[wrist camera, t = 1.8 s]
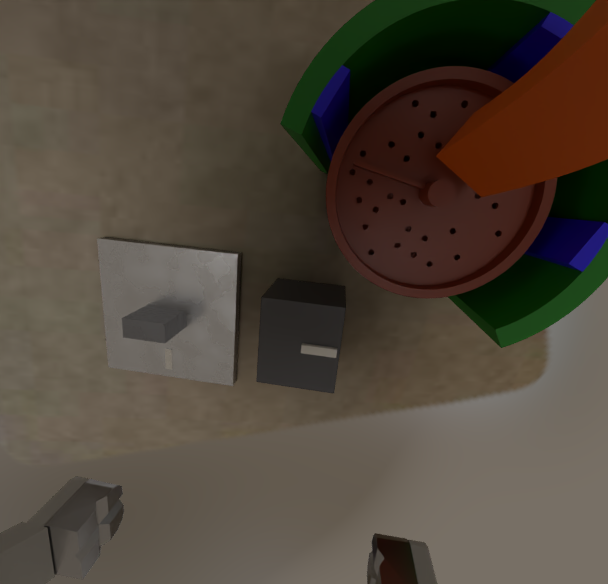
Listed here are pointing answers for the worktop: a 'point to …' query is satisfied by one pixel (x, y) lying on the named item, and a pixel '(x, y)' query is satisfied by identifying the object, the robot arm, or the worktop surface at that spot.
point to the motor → (467, 152)
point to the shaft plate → (177, 289)
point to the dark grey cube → (301, 334)
